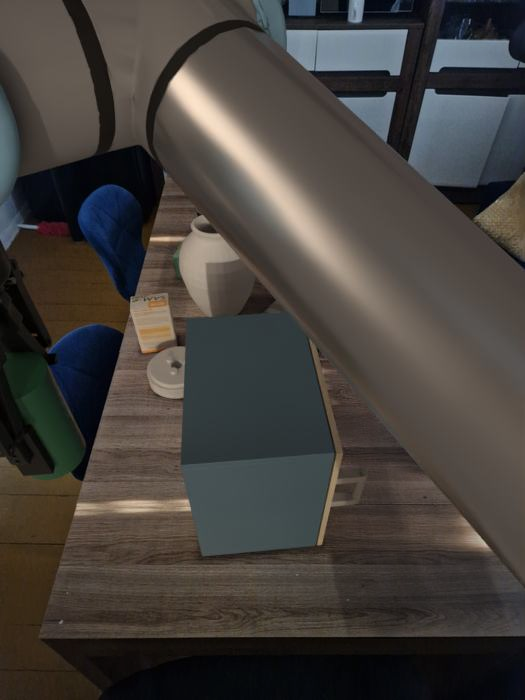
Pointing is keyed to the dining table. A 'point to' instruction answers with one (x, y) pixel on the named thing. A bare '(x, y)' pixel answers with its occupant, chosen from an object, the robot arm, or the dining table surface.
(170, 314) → the supplement box
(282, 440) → the cabinet
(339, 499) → the cabinet door
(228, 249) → the vase
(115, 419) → the dining table surface
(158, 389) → the lid
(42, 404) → the tea tin
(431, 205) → the robot arm
